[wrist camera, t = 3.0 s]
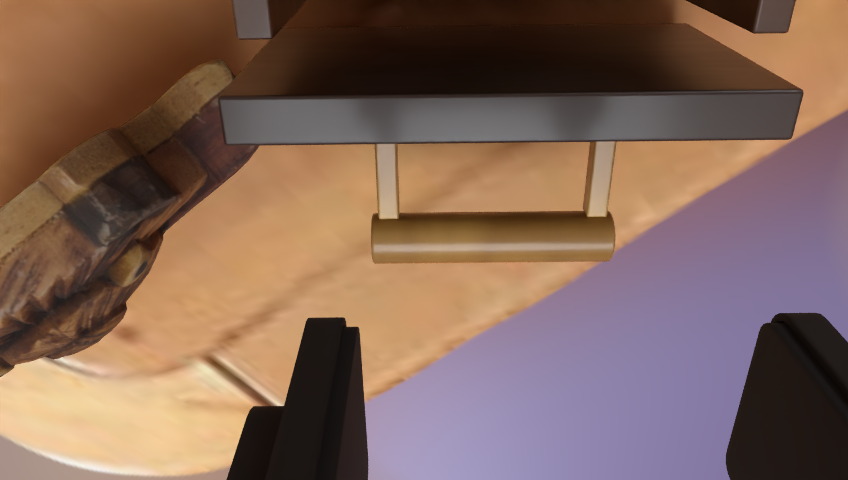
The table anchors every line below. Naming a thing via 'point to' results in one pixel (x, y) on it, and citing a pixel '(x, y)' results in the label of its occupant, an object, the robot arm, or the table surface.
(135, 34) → the table surface
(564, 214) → the drawer
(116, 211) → the wooden carving
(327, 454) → the robot arm
